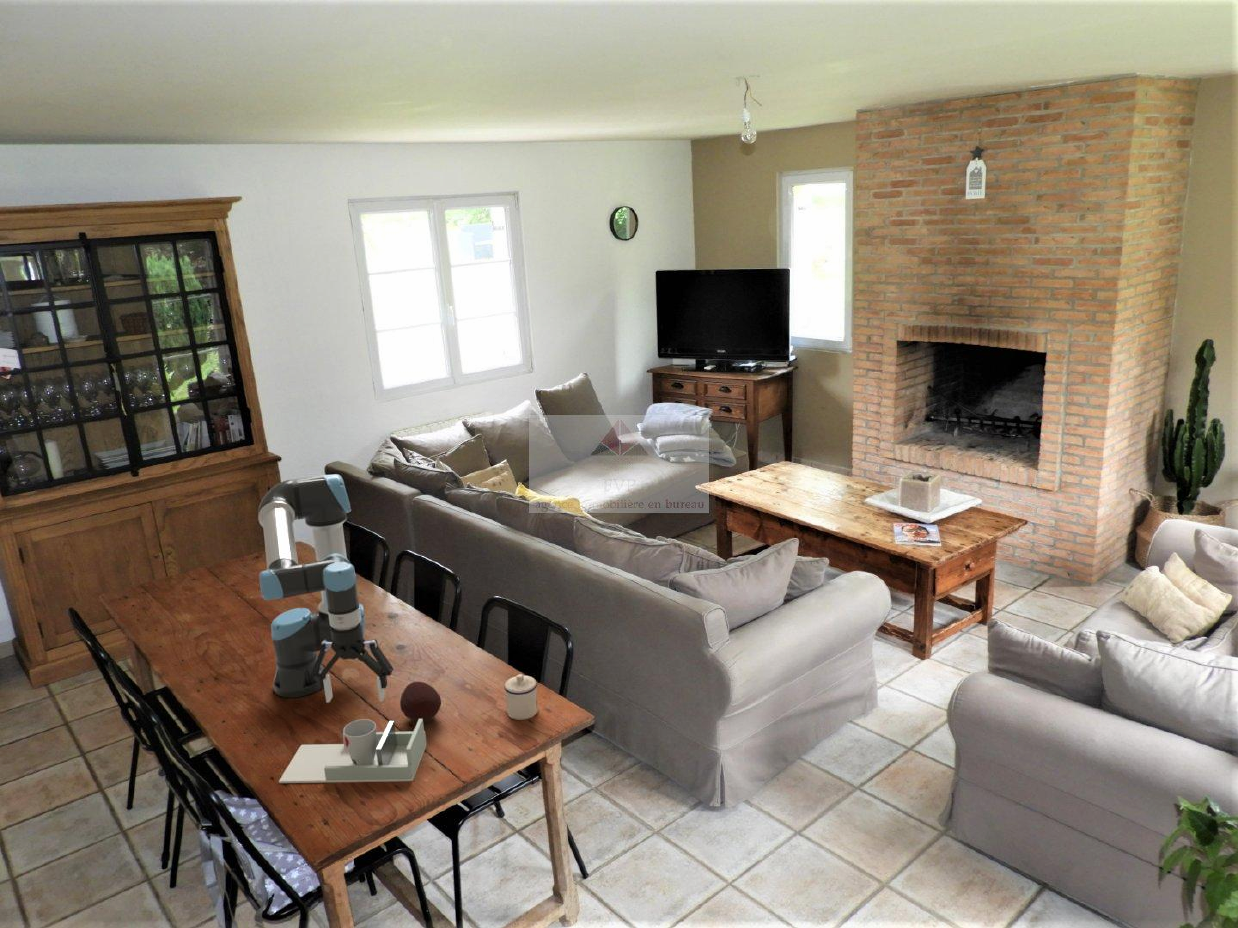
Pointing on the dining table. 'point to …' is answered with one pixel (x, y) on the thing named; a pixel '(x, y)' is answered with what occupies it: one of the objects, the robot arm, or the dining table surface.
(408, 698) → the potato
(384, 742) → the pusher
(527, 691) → the teacup with lid
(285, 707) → the dining table surface
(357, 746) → the cup
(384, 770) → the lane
